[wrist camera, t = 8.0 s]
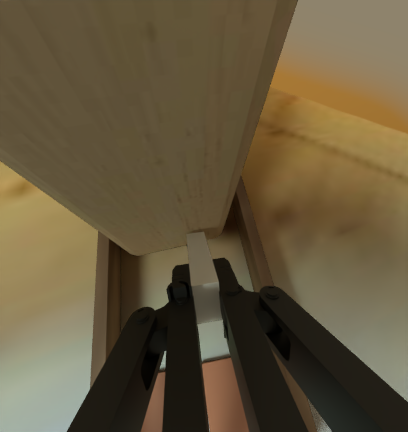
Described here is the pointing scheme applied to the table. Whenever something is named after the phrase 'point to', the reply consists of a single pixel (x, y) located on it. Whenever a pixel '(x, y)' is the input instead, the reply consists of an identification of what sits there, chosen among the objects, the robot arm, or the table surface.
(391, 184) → the table surface
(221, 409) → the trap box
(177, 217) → the wooden block
